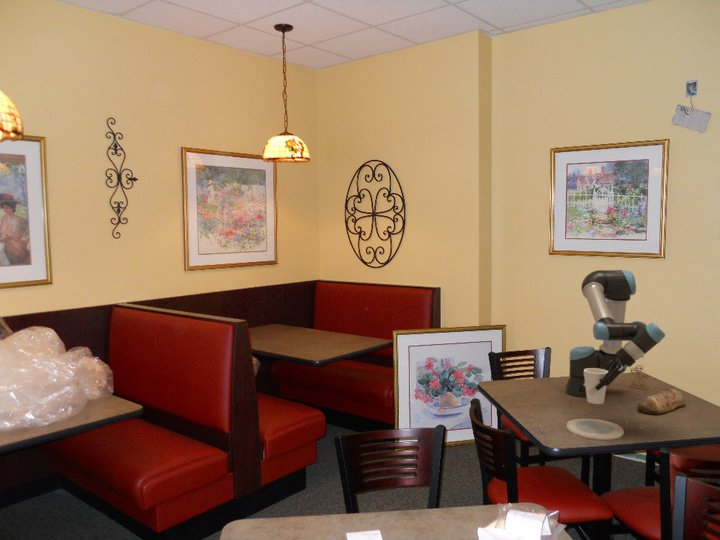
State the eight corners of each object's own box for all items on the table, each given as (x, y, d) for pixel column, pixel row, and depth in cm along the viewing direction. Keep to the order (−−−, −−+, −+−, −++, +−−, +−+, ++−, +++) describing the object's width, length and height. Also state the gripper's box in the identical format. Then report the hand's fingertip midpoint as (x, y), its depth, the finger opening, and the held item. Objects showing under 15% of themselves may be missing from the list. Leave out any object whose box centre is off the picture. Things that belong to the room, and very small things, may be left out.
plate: (555, 426, 246) (555, 423, 246) (591, 418, 256) (591, 415, 256) (597, 443, 226) (597, 440, 226) (635, 433, 236) (635, 430, 236)
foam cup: (607, 399, 243) (607, 369, 242) (608, 406, 234) (609, 374, 233) (582, 397, 246) (583, 367, 245) (583, 403, 237) (584, 372, 236)
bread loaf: (667, 424, 251) (670, 403, 250) (626, 413, 263) (628, 393, 262) (694, 408, 275) (696, 389, 274) (655, 399, 287) (657, 380, 286)
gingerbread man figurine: (648, 388, 300) (649, 365, 299) (646, 390, 297) (647, 367, 296) (630, 385, 306) (631, 363, 305) (628, 387, 303) (629, 364, 302)
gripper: (643, 367, 224) (599, 405, 229) (630, 354, 246) (589, 389, 251) (629, 353, 225) (585, 391, 230) (616, 342, 247) (577, 376, 251)
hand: (587, 390), depth 240 cm, fingers closed on foam cup, 9 cm apart
